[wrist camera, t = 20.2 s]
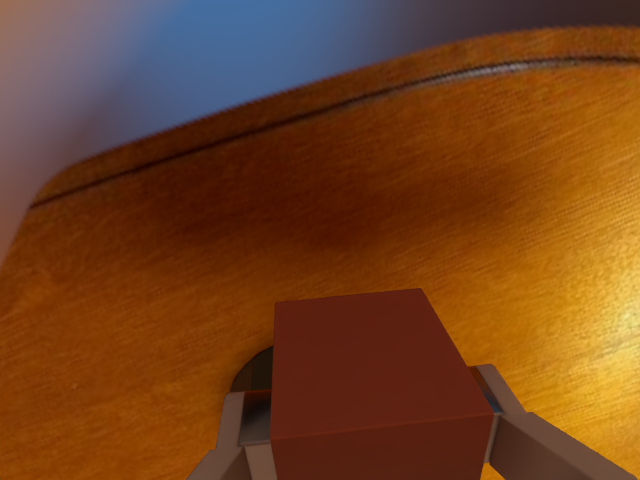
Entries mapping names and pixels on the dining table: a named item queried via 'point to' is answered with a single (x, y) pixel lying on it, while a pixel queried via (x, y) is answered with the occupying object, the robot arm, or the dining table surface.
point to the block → (373, 392)
